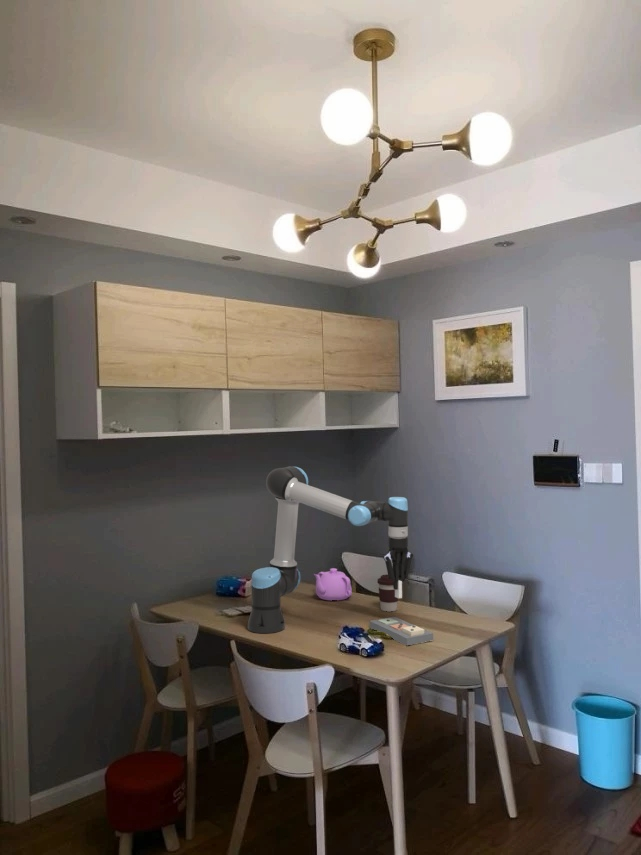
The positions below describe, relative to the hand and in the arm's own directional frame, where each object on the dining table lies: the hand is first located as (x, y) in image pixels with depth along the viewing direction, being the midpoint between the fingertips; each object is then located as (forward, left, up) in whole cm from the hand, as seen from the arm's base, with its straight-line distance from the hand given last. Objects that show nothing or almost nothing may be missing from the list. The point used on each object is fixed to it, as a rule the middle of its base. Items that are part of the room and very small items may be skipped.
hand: (398, 597), depth 266 cm
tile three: (0, -1, -14) cm, 14 cm away
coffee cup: (+16, +31, -15) cm, 38 cm away
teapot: (+3, +61, -15) cm, 63 cm away
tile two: (0, -9, -13) cm, 16 cm away
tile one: (0, +8, -14) cm, 16 cm away
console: (0, -1, -14) cm, 14 cm away
